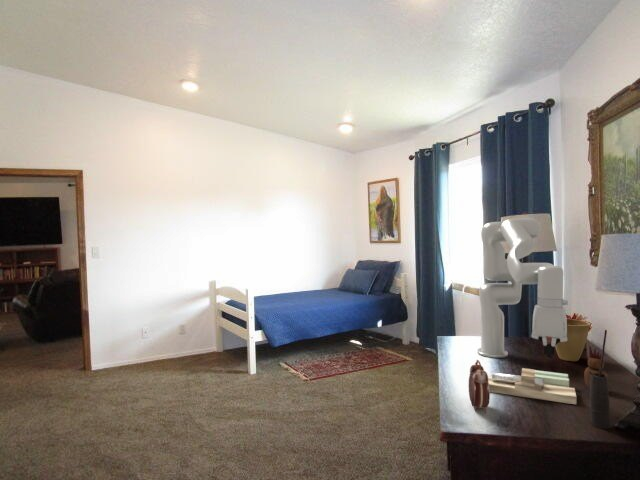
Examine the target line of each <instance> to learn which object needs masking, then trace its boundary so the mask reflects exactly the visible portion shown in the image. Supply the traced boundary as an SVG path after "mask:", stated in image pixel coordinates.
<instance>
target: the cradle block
mask: <svg viewBox="0 0 640 480" xmlns="http://www.w3.org/2000/svg"><path fill="white" fill-rule="evenodd" d="M534 370H535V378H541V379H543V384H549V385H556V386H563V387H570V378H569V374H568V373H560V372H553V371H546V370H545V371H544V370H538V369H537V370H536V369H534Z"/></svg>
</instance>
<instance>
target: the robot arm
mask: <svg viewBox="0 0 640 480" xmlns="http://www.w3.org/2000/svg"><path fill="white" fill-rule="evenodd" d="M482 226H483V227H481V233H480V234H481V242H482V245H483V252H484V254H483V276H484V278H485V279H486V280H487V281H492V282H491V283H490V282H489V283H484V284H482V285H481V286H480V287H479V289H478V296H479V297H478V298H479V302H480V315H481V316H480V320H481V321H480V330H481V331H480V337H481V338H480V341H481V342H480V348H478V349H477V353H478V355H480V356H484V357H487V358H494V359H497V358H498V359H499V358H505V357H508V355H509V352H508V351H507V350H505V315H504V312H503V311H502V309H501V308H500V307H499V306H502V305H508V306H509V305H511V306H512V305H517V304H518V303H520V301H521V299H522V288H523V285H537V295H536V296H537V297H536V300H537V301H536V303H537V304H535V305H534V309H533V314H532V332H531V338H533V339H535V340H539V341H540V343H541V344H542V345H543V355H545V358H549V359H552V357H553V356H555V345H556V344H558V343H559V342H564V341H567V336H566V335H567V319H568V318H567V312H566V308H565V305H568V304H569V302H568V300H566V299H564V269H563V268H562V267H561V266H557V265H554V264H552V263H550V262H521V261H520V259H523V258H525V257H527V256H529V255H530V254H532V253H533V252H534V251H535V248H536V242H535V240H537V239H538V238H539V237H540V236H541V233H542V227H541V224H540V222H539V221H538V220H537V219H535V218H532V217H517V218H516V217H514V218H508V219H506V220H503V221H491V222H487V223H485V224H484V225H482ZM504 242H505V243H507V245H508V247H509V248H510V250H509V252H508V255H507V258H506V248H505V246H504V245H503V243H504ZM493 281H494V282H493ZM496 281H497V282H496ZM498 281H499V282H498ZM500 281H501V282H500ZM503 281H505V282H503ZM506 281H507V282H506ZM547 338H551V339H550V340H551V341H550V342H548V340H547Z"/></svg>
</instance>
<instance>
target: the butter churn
mask: <svg viewBox="0 0 640 480" xmlns="http://www.w3.org/2000/svg"><path fill="white" fill-rule="evenodd" d="M607 333H608V330H607V329H604V336H603V342H602V348H601V349H602V350H601V355H602V357H601V363H600V371H599V373H596V374H595V373H592V372H591V371H589V372H588V373H589V374H590V389H589V403H590V404H589V412H590V413H589V418H590V419H589V420H590V421H589V422H590V424H591V425H592V426H593V427H595V428H597V429H603V430H607V429H610V428H612V419H611V418H612V417H611V409H610V408H611V407H610V394H609V381H608V379H609V378H608V379H607V376H608V374H607V375H605V374H601V373H602V370H603V369H602V365H603V361H604V355H605V348H606V340H607Z"/></svg>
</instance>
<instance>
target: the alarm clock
mask: <svg viewBox="0 0 640 480" xmlns="http://www.w3.org/2000/svg"><path fill="white" fill-rule="evenodd" d="M488 376H489V374H488V372H486V371H485V369H484V367H483V366H482V364H481V362H480V360H478V359H477V360H476V361H475V364H472V365H471V366H470V367H469V377H468V395H469V400H470V404H471V406H472V407H473V408H474V411H475V412H476V411H477V408H481V409H482V408H483V410H484V413H487V408H488V407H489V404H490V398H491V397H490V396H491V395H490V394H491V393H490V390H489V382H488Z"/></svg>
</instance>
